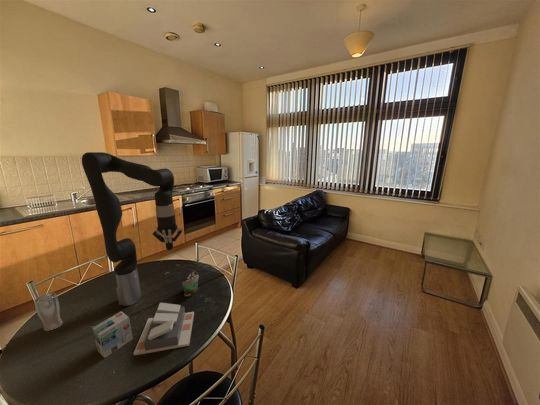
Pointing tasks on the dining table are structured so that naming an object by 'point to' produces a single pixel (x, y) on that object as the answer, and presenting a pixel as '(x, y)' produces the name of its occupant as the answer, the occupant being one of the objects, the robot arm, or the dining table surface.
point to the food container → (191, 284)
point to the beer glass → (48, 311)
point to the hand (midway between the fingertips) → (170, 249)
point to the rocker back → (168, 308)
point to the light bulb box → (112, 334)
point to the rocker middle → (165, 317)
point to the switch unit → (166, 334)
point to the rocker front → (161, 329)
